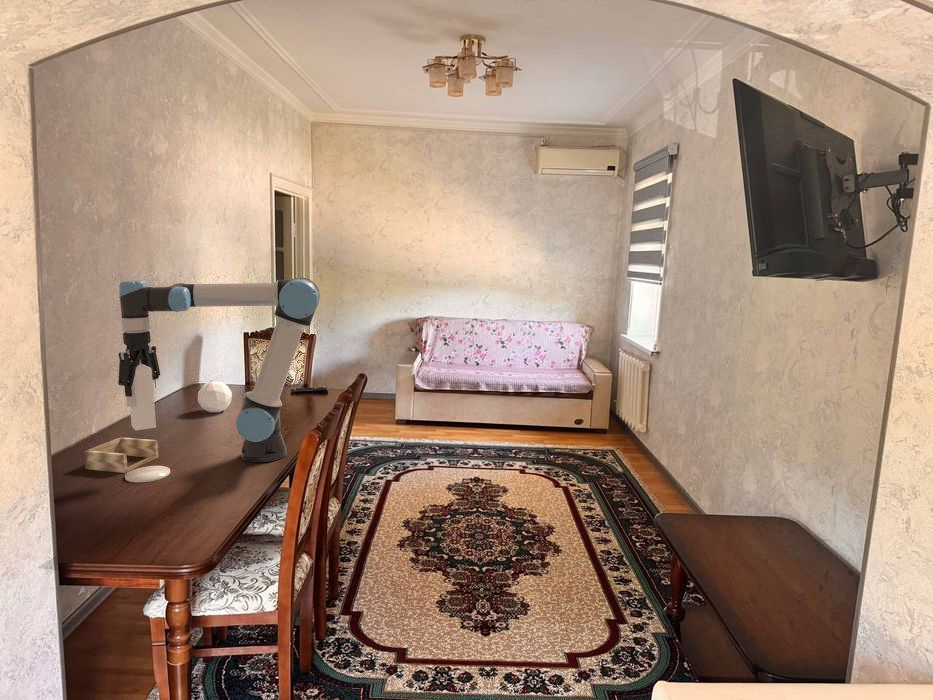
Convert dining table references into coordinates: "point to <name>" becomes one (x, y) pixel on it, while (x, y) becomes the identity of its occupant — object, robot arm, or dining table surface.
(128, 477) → the cream flat disc
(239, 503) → the dining table surface
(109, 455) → the shelf bay
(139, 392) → the milk
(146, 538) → the dining table surface
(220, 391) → the geodesic sphere
